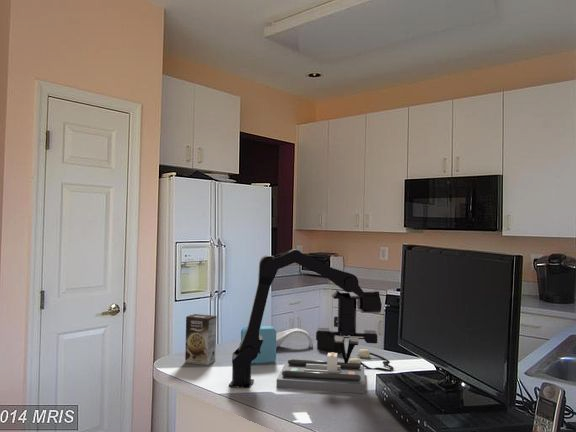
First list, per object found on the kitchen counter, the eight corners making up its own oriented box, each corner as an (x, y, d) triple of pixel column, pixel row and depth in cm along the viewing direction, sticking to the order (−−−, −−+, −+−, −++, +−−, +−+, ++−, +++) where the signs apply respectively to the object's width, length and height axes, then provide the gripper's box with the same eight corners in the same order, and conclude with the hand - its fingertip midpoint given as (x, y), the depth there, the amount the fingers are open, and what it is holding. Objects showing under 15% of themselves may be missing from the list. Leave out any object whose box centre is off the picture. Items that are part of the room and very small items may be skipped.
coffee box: (184, 362, 163) (185, 316, 163) (193, 357, 169) (194, 313, 169) (207, 365, 160) (208, 318, 160) (216, 360, 166) (216, 315, 166)
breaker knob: (336, 374, 143) (336, 356, 143) (326, 373, 144) (327, 355, 144) (337, 370, 147) (337, 352, 147) (327, 369, 148) (328, 352, 148)
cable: (399, 361, 169) (399, 351, 169) (392, 374, 154) (392, 364, 154) (357, 356, 175) (357, 346, 175) (346, 368, 160) (346, 358, 160)
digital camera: (346, 351, 180) (347, 333, 180) (338, 354, 176) (338, 335, 176) (325, 346, 187) (325, 329, 187) (317, 349, 183) (317, 331, 183)
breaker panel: (364, 393, 135) (364, 378, 135) (276, 387, 139) (276, 373, 139) (364, 373, 153) (364, 360, 153) (285, 369, 157) (286, 356, 157)
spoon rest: (254, 352, 178) (254, 333, 178) (252, 344, 190) (252, 326, 190) (315, 350, 181) (315, 332, 182) (309, 343, 193) (309, 325, 193)
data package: (273, 358, 169) (273, 325, 169) (276, 362, 165) (276, 328, 165) (240, 360, 166) (240, 327, 166) (242, 364, 161) (243, 329, 162)
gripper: (376, 309, 152) (375, 357, 151) (319, 307, 154) (318, 354, 154) (377, 316, 141) (377, 368, 140) (316, 313, 143) (315, 364, 143)
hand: (346, 363), depth 145 cm, fingers closed
